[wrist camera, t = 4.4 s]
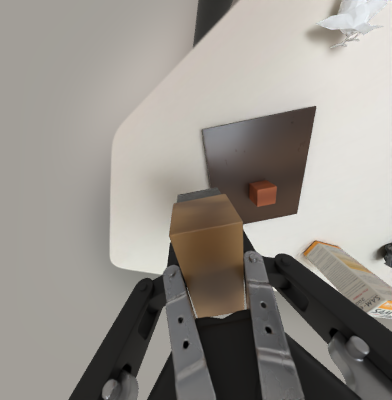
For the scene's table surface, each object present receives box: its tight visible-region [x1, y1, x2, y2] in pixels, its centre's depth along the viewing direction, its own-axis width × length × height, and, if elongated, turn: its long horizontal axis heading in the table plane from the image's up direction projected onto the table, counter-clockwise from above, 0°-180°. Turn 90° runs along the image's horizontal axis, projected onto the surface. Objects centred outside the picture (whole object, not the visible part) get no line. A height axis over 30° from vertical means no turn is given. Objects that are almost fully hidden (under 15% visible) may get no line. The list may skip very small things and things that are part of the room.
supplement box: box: [304, 241, 392, 319], centre depth 29 cm, size 8×5×13 cm, turn 69°
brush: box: [169, 188, 244, 318], centre depth 12 cm, size 4×10×6 cm, turn 10°
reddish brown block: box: [249, 180, 277, 207], centre depth 23 cm, size 3×3×3 cm
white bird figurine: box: [315, 0, 388, 48], centre depth 15 cm, size 8×5×5 cm, turn 111°
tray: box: [202, 106, 316, 224], centre depth 24 cm, size 18×16×1 cm
